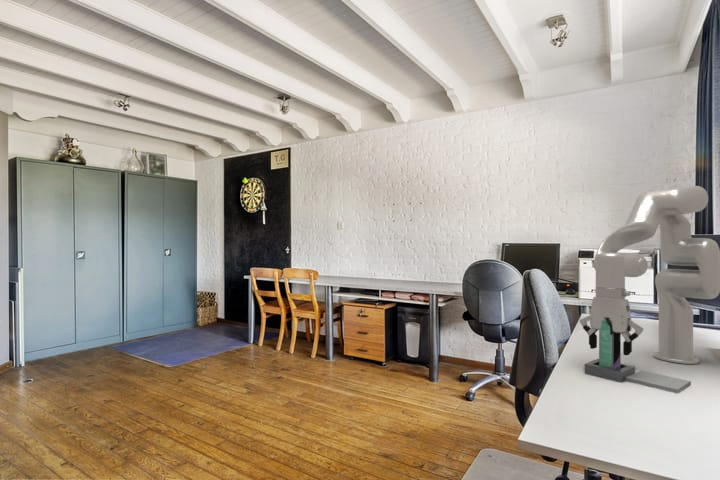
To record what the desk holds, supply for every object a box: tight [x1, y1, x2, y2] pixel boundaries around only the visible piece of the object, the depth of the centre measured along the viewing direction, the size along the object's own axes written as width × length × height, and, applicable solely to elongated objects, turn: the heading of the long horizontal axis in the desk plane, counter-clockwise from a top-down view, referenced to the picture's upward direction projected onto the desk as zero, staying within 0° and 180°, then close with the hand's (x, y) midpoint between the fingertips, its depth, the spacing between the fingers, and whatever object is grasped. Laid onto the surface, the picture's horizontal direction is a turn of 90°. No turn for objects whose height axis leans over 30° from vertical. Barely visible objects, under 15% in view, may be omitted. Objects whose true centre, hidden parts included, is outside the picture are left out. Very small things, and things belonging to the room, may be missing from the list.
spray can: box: [598, 317, 622, 370], centre depth 119 cm, size 6×6×20 cm
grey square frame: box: [584, 358, 636, 384], centre depth 119 cm, size 10×10×3 cm
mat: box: [625, 370, 692, 394], centre depth 113 cm, size 12×12×1 cm
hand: (609, 351), depth 119 cm, fingers open, 8 cm apart
